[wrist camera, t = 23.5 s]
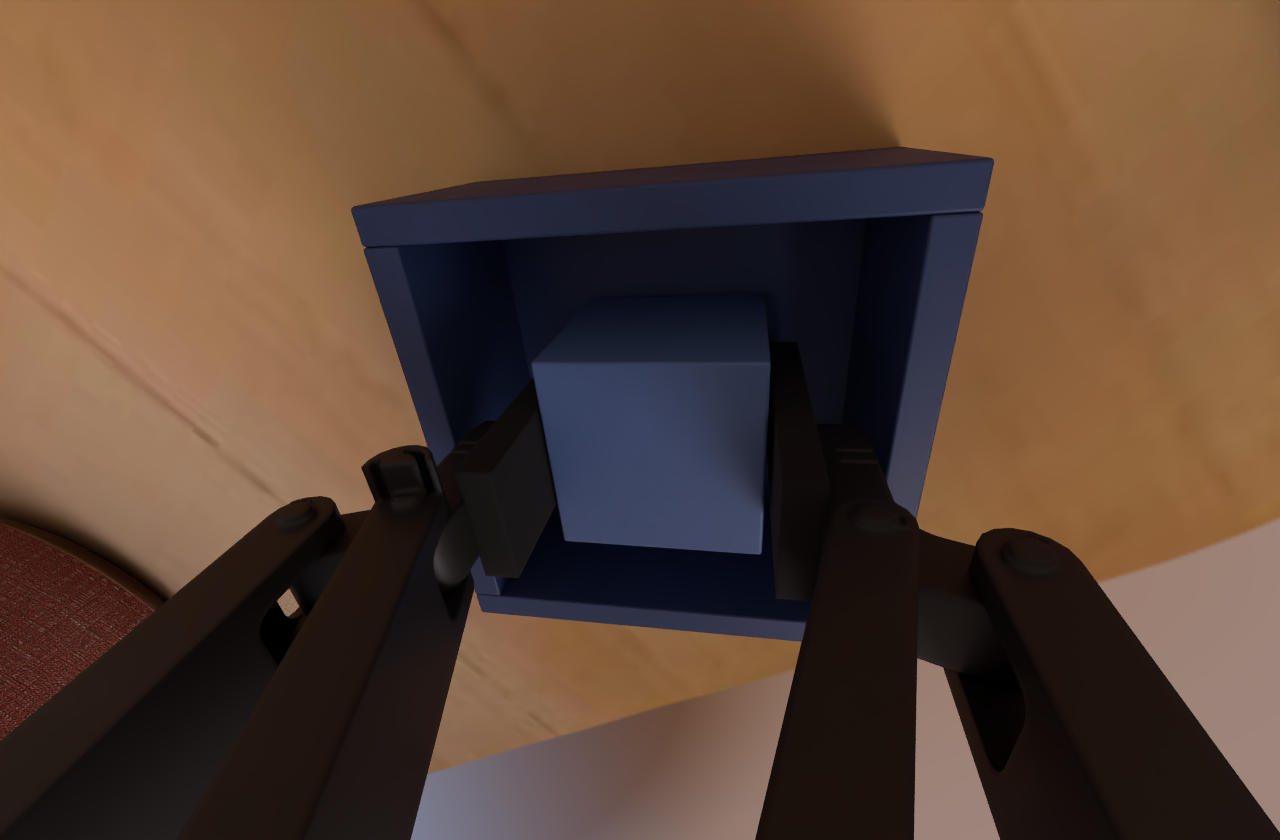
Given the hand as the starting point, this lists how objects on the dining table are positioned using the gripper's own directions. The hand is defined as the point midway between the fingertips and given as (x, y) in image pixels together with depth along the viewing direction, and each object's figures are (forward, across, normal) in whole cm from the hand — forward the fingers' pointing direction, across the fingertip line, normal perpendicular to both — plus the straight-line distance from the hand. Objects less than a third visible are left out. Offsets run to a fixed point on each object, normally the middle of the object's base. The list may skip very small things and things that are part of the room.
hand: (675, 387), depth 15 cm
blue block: (+1, 0, 0) cm, 1 cm away
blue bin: (+2, 0, 0) cm, 2 cm away
